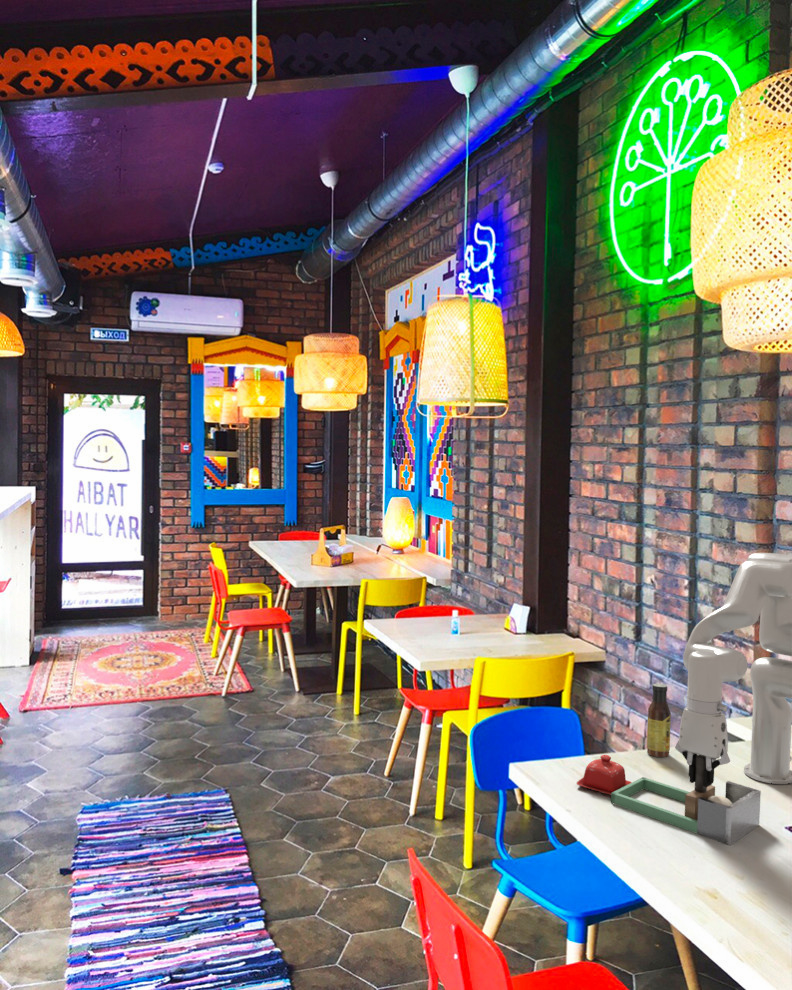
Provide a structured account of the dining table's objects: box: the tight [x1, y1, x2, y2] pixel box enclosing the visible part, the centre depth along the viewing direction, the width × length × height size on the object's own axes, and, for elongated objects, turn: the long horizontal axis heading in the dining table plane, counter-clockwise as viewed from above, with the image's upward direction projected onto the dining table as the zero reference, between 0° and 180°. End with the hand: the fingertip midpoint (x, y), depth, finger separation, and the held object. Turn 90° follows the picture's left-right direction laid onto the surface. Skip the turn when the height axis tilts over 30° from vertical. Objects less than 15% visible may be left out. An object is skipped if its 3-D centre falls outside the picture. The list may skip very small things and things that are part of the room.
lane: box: [610, 776, 697, 834], centre depth 199 cm, size 15×22×2 cm
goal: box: [696, 780, 762, 846], centre depth 188 cm, size 15×8×8 cm, turn 134°
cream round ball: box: [708, 795, 732, 806], centre depth 190 cm, size 7×7×7 cm
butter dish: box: [576, 754, 633, 796], centre depth 211 cm, size 12×12×8 cm
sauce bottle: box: [646, 683, 672, 758], centre depth 235 cm, size 6×6×20 cm
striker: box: [684, 755, 716, 821], centre depth 193 cm, size 10×3×14 cm, turn 134°
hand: (700, 782), depth 193 cm, fingers closed on striker, 2 cm apart
